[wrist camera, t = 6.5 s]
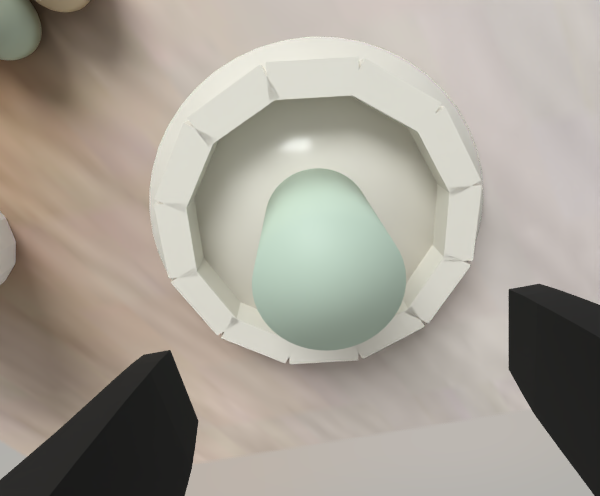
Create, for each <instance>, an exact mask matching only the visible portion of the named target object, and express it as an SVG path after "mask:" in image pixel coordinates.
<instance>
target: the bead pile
mask: <svg viewBox="0 0 600 496" xmlns="http://www.w3.org/2000/svg"><path fill="white" fill-rule="evenodd" d="M35 1H36V2H37V3H39V4H40V5H42V6H44V7H46V8H48V9H51V10H54V11H58V12H74V11H77V10H80V9H82V8H83V7H85V6H86V5H87V4H88V3H89V2H90V1H91V0H35ZM41 34H42V29H41V22H40V19H39V16H38V14H37V12H36V10H35V8H34V7H33V5H32V4H31V2H30V1H29V0H0V59H2V60H18V59H22V58H25V57H27V56H29V55H30V54H31V53H33V52H34V51H35V49H36V48H37V47H38V45H39V42H40V39H41Z"/></svg>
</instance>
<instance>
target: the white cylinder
mask: <svg viewBox="0 0 600 496" xmlns="http://www.w3.org/2000/svg"><path fill="white" fill-rule="evenodd" d="M15 263H16V240H15V238H14V236H13V233H12V231H11V229H10V226H9V224H8V221H7V219H6V217H5V216H4V215H3V214H2V213H1V212H0V285H1V284H2V283H3V282H4V281H5V280H6V279H7V277H8V275H9V274H10V272H11V270H12V268H13V267H14V265H15Z"/></svg>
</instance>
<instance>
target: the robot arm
mask: <svg viewBox="0 0 600 496" xmlns="http://www.w3.org/2000/svg"><path fill="white" fill-rule="evenodd" d="M509 370H510V372H511V374H512V376H513V378H514V379H515V381H516V383H517V385H518V387H519V388H520V390H521V392H522V394H523V396H524V397H525V399H526V401H527V402H528V404H529V406H530V407H531V409H532V411H533V412H534V414H535V415H536V417H537V418H538V420H539V421H540V422H541V424H542V425H543V426H544V428H545V429H546V431H547V432H548V433H549V435H550V436H551V437H552V439H553V440H554V442H555V443H556V444H557V446H558V447H559V448H560V450H561V451H562V452H563V454H564V455H565V456H566V458H567V459H568V460H569V462H570V463H571V464H572V466H573V467H574V468H575V470H576V471H577V472H578V474H579V475H580V476H581V478H582V479H583V481H584V482H585V483H586V485H587V486H588V487H589V489H590V490H591V491H592V493H593V494H594V495H595V496H600V305H598V304H596V303H593V302H590V301H588V300H585V299H582V298H580V297H577V296H574V295H571V294H569V293H566V292H563V291H560V290H557V289H554V288H551V287H548V286H545V285H541V284H536V285H530V286H525V287H519V288H514V289H509ZM197 427H198V419H197V417H196V414H195V412H194V409H193V406H192V404H191V401H190V399H189V396H188V394H187V391H186V389H185V386H184V384H183V381H182V379H181V376H180V374H179V371H178V368H177V366H176V363H175V361H174V358H173V356H172V353H171V351H170V350H168V351H163V352H157V353H152V354H146V355H143V356H141V357H140V358H139V359H138V360H136V361H135V362H134V363H133V364H131V365H130V366H129V367H128V368H127V369H125V370H124V371H123V372H122V373H121V374H120V375H119V376H118V377H116V378H115V379H114V380H113V381H112V382H111V383H110V384H109V385H108V386H106V387H105V388H104V389H103V390H102V391H101V392H100V393H99V394H98V395H97V396H96V397H94V398H93V399H92V400H91V401H90V402H89V403H88V404H87V405H86V406H85V407H83V408H82V409H81V410H80V411H79V412H78V413H77V414H76V415H75V416H73V417H72V418H71V419H70V420H69V421H68V422H67V423H66V424H65V425H64V426H62V427H61V428H60V429H59V430H58V431H57V432H56V433H55V434H53V435H52V436H51V437H50V438H49V439H48V440H46V441H45V442H44V443H43V444H42V445H41V446H39V447H38V448H37V449H36V450H35V451H34V452H32V453H31V454H30V455H29V456H28V457H27V458H25V459H24V460H23V461H22V462H21V463H20V464H19V465H17V466H16V467H15V468H14V469H13V470H11V471H10V472H9V473H8V474H7V475H6V476H4V477H3V478H2V479H1V480H0V496H185V492H186V488H187V485H188V481H189V477H190V473H191V469H192V463H193V456H194V450H195V443H196V435H197Z"/></svg>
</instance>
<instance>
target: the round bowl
mask: <svg viewBox="0 0 600 496" xmlns="http://www.w3.org/2000/svg"><path fill="white" fill-rule="evenodd" d="M315 168H322V169H329V170H334V171H336V172H339V173H341V174H343V175H345V176H347V177H348V178H350V179H351V180H352V181H353V182H354V183H355V184H356V185H357V186H358V187H359V188H360V190H361V191H362V193H363V194H364V196H365V197H366V199H367V201H368V202H369V204H370V205H371V207H372V208H373V210H374V212H375V213H376V215H377V216H378V218H379V219H380V221H381V223H382V224H383V226H384V227H385V229H386V230H387V232H388V234H389V235H390V237H391V238H392V240H393V241H394V243H395V245H396V246H397V248H398V250H399V251H400V254H401V256H402V258H403V261H404V265H405V270H406V288H405V293H404V297H403V300H402V303H401V305H400V307H399V309H398V311H397V313H396V314H395V316H394V317H393V319H392V320H391V321H390V322H389V324H388V325H387V326H386V327H385V328H384V329H382V330H381V331H380V332H379V333H378V334H376V335H375V336H373V337H372V338H370V339H368V340H367V341H365V342H363V343H360V344H358V345H355V346H352V347H349V348H345V349H339V350H328V351H325V350H313V349H308V348H304V347H301V346H298V345H295V344H293V343H290V342H288V341H287V340H285V339H283V338H282V337H280V336H279V335H278V334H276V333H275V332H274V331H273V330H272V329H271V328H270V327H269V326H268V325H267V324H266V323H265V321H264V320H263V319H262V317H261V315H260V314H259V312H258V310H257V307H256V305H255V302H254V298H253V292H252V276H253V270H254V265H255V261H256V256H257V251H258V246H259V241H260V237H261V232H262V227H263V222H264V218H265V213H266V208H267V205H268V202H269V199H270V197H271V195H272V194H273V192H274V191H275V189H276V188H277V187H278V186H279V185H280V183H282V182H283V181H284V180H285V179H287V178H288V177H290V176H291V175H293V174H295V173H297V172H300V171H303V170H307V169H315ZM482 205H483V183H482V171H481V166H480V162H479V157H478V153H477V149H476V146H475V143H474V141H473V138H472V136H471V133H470V130H469V128H468V126H467V124H466V123H465V121H464V119H463V117H462V116H461V114H460V112H459V110H458V108H457V107H456V106H455V105H454V103H453V102H452V101H451V99H450V98H449V97H448V96H447V94H446V93H445V92H444V90H443V89H442V88H440V87H439V86H438V85H437V84H436V83H435V82H434V81H433V80H432V79H431V78H430V77H429V76H428V75H427V74H426V73H424V72H423V71H421V70H420V69H419V68H417V67H416V66H414V65H413V64H411V63H410V62H408V61H407V60H405V59H403V58H401V57H399V56H397V55H395V54H393V53H391V52H389V51H387V50H385V49H383V48H380V47H377V46H373V45H370V44H367V43H364V42H361V41H356V40H350V39H344V38H337V37H304V38H296V39H289V40H283V41H279V42H276V43H272V44H269V45H265V46H262V47H259V48H257V49H254V50H252V51H250V52H248V53H246V54H243V55H241V56H239V57H237V58H235V59H234V60H232V61H230V62H229V63H227V64H226V65H224V66H223V67H221V68H219V69H218V70H216V71H215V72H214V73H213V74H211V75H210V76H209V77H208V78H207V79H206V80H205V81H203V82H202V83H201V84H200V85H199V86H198V87H197V88H196V89H195V90H194V91H193V92H192V93H191V95H190V96H189V97H188V98H187V99H186V100H185V102H184V103H183V104H182V105H181V106H180V108H179V110H178V111H177V113H176V114H175V116H174V117H173V119H172V121H171V122H170V124H169V125H168V127H167V130H166V132H165V134H164V136H163V138H162V141H161V143H160V145H159V148H158V151H157V155H156V158H155V162H154V165H153V169H152V176H151V183H150V218H151V225H152V232H153V235H154V239H155V243H156V246H157V250H158V253H159V255H160V257H161V260H162V262H163V264H164V267H165V269H166V271H167V273H168V278H171V279H172V281H171V283H172V285H173V286H174V287H175V288H176V289H177V290H178V291H179V293H180V294H181V295H182V296H183V297H184V298H185V299H186V301H187V302H188V303H189V304H190V305H191V306H192V307H193V308H194V310H195V311H196V312H197V313H198V314H199V315H200V316H201V318H202V319H203V320H204V321H205V322H206V323H207V324H208V325H209V327H210V328H211V329H212V330H213V331H214V332H215V333H216V335H219V334H221V333H222V332H223V333H222V337H221V338H222V339H225V340H227V341H230V342H232V343H235V344H237V345H240V346H242V347H245V348H247V349H250V350H252V351H255V352H257V353H260V354H262V355H265V356H267V357H270V358H272V359H275V360H277V361H280V362H282V363H286V361H287V360H288V358H289V361H290V364H304V363H322V362H339V361H357V360H358V353H359V354H360V356H361V357H362V358H363V359H364V358H366V357H368V356H370V355H372V354H374V353H376V352H378V351H379V350H381V349H383V348H385V347H387V346H389V345H391V344H393V343H395V342H397V341H398V340H400V339H402V338H404V337H406V336H408V335H410V334H412V333H414V332H415V331H417V330H419V329H421V328H423V327H425V326H424V324H423V322H422V321H424V322H427V323H429V322H430V321H431V319H432V318H433V317H434V315H435V314H436V313H437V311H438V310H439V308H440V307H441V306H442V304H443V303H444V302H445V300H446V299H447V297H448V296H449V295H450V293H451V292H452V291H453V289H454V288H455V286H456V285H457V284H458V282H459V281H460V280H461V278H462V277H463V276H464V274H465V273H466V271H467V270H468V269H469V267H470V266H471V265H470V264H469V263H468V262H467V261H473V256H474V247H475V241H476V238H477V235H478V231H479V226H480V221H481V215H482Z"/></svg>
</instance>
